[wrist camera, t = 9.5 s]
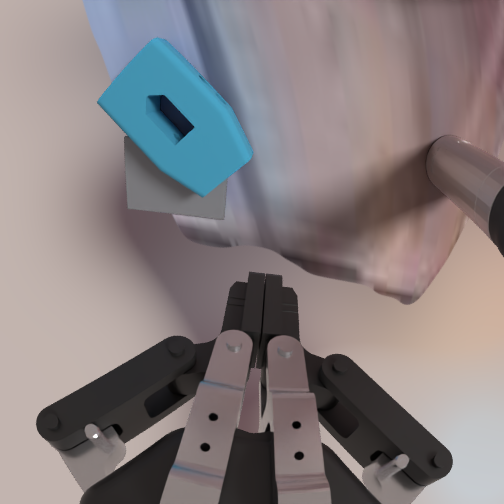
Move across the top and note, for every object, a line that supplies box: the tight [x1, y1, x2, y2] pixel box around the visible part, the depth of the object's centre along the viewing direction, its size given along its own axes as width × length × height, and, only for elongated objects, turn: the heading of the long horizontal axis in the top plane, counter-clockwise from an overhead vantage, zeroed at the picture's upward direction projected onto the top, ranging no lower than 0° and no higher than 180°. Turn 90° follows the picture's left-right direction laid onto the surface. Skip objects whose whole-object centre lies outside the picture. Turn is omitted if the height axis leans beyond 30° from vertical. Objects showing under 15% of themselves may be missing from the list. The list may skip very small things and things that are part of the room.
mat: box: [124, 136, 228, 220], centre depth 43 cm, size 16×12×1 cm
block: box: [97, 38, 253, 198], centre depth 36 cm, size 12×5×20 cm
